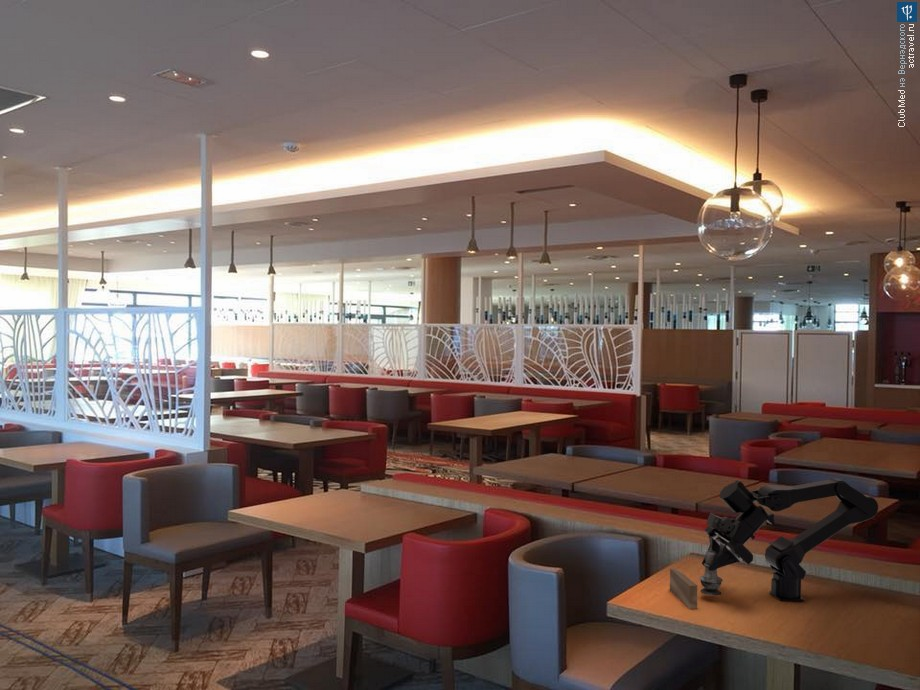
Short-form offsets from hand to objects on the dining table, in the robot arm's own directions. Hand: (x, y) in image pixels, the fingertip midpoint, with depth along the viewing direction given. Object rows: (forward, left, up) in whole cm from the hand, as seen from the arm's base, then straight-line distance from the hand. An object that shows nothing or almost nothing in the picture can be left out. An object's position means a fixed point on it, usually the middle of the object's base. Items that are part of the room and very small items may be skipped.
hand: (706, 567), depth 205 cm
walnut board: (+6, 0, -8) cm, 10 cm away
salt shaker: (-1, 0, -7) cm, 7 cm away
